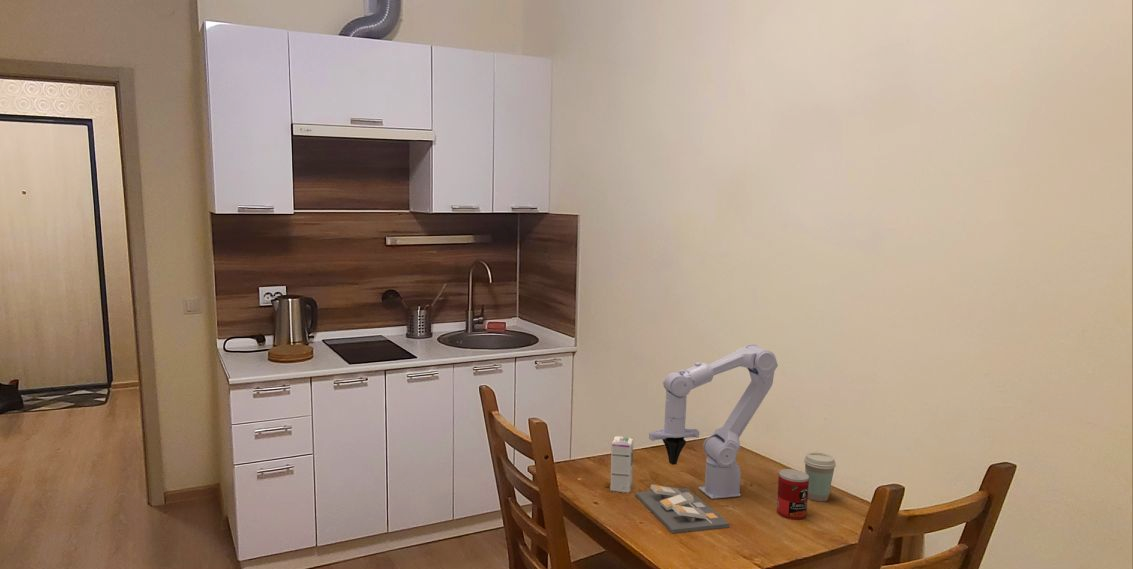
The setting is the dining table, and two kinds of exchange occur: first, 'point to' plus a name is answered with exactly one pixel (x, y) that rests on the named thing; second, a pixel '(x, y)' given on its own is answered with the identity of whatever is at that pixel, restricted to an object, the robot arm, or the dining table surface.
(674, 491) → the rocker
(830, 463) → the coffee cup
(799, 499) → the canned food
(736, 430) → the robot arm
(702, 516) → the rocker
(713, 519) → the switch unit
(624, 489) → the syrup box
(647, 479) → the dining table surface
